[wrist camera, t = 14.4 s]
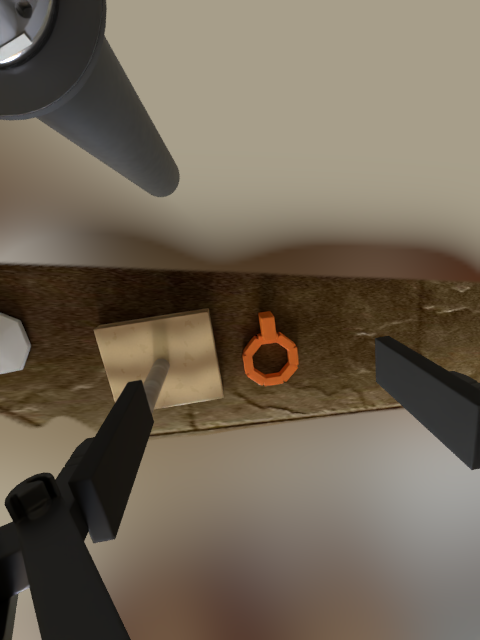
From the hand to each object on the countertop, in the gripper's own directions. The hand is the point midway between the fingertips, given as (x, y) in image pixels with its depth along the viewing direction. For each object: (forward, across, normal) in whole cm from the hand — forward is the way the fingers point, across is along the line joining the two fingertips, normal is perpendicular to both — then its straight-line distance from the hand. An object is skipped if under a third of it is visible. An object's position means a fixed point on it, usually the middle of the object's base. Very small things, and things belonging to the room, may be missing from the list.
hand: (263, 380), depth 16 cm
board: (+22, -11, -7) cm, 25 cm away
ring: (+22, +3, -8) cm, 23 cm away
